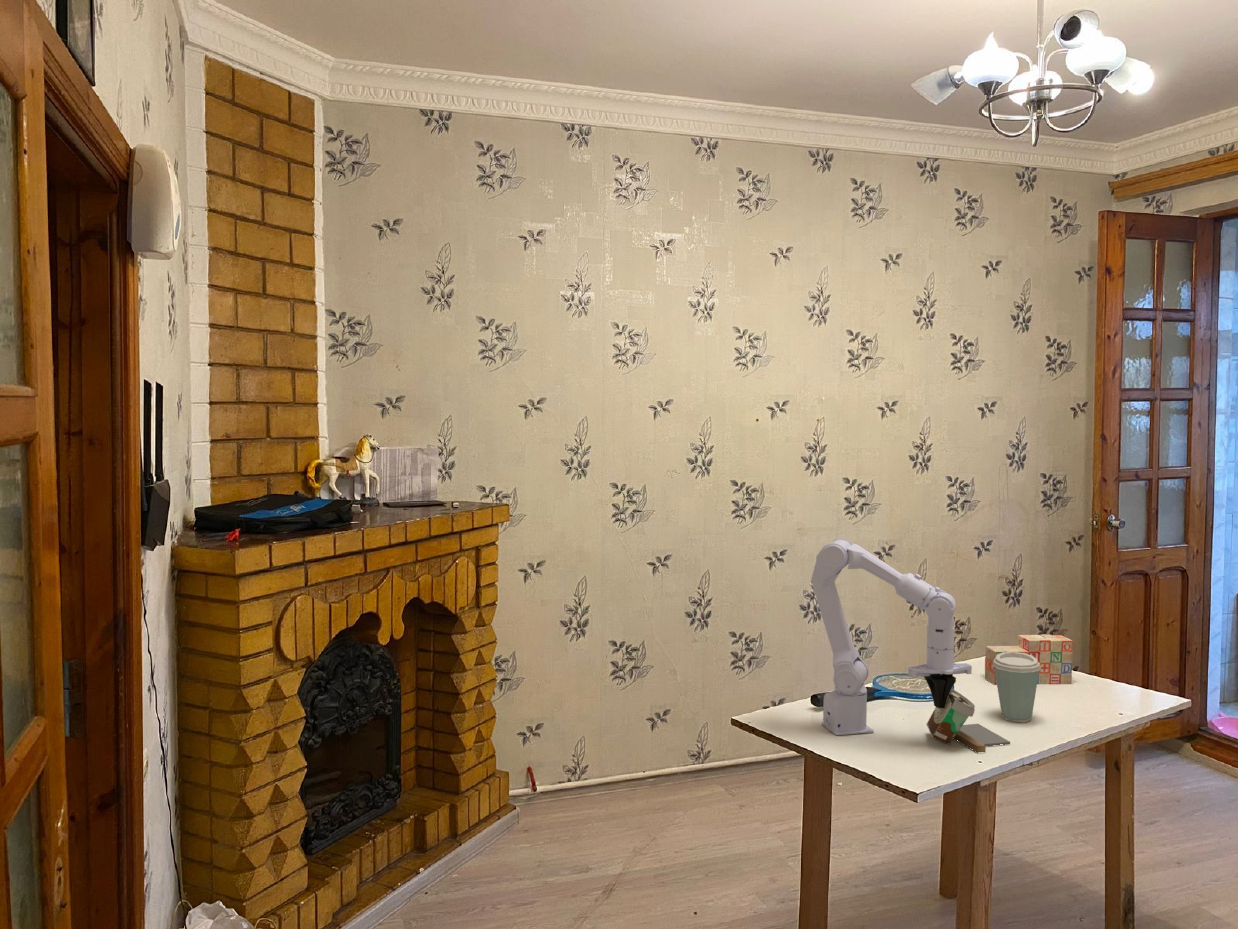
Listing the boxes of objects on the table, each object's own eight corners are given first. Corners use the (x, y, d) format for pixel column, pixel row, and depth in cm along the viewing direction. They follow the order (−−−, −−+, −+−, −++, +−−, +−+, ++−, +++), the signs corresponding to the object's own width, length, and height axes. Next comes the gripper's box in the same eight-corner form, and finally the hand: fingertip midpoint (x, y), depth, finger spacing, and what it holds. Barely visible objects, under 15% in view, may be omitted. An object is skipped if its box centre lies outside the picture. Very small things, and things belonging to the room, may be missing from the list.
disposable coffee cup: (1044, 727, 213) (1046, 664, 213) (995, 724, 216) (996, 661, 215) (1034, 712, 224) (1035, 652, 223) (987, 709, 226) (989, 650, 225)
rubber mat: (978, 747, 201) (978, 744, 201) (947, 728, 213) (947, 726, 213) (1010, 744, 203) (1010, 742, 203) (978, 726, 214) (978, 723, 214)
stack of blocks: (994, 685, 246) (995, 640, 245) (984, 678, 252) (985, 634, 252) (1072, 684, 247) (1073, 639, 246) (1060, 678, 253) (1061, 634, 252)
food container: (959, 754, 198) (982, 714, 197) (933, 739, 199) (956, 700, 198) (950, 736, 210) (971, 699, 209) (925, 722, 211) (946, 685, 210)
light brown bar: (977, 753, 198) (977, 746, 198) (936, 728, 213) (936, 721, 213) (985, 752, 198) (985, 745, 198) (944, 727, 214) (944, 721, 214)
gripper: (920, 653, 198) (919, 715, 199) (980, 649, 201) (979, 710, 202) (903, 645, 205) (902, 704, 205) (961, 641, 208) (960, 700, 208)
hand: (939, 707), depth 204 cm, fingers closed
